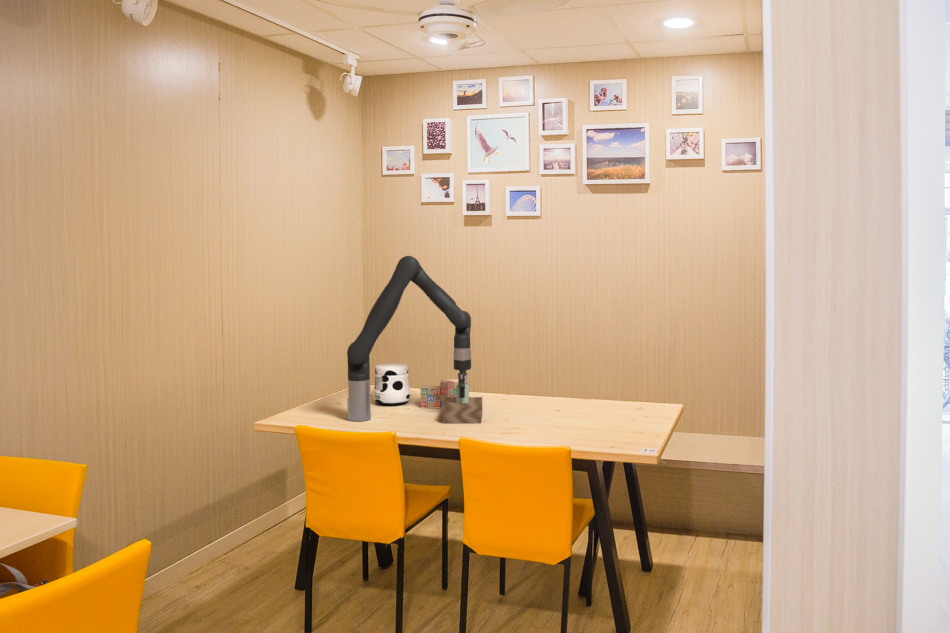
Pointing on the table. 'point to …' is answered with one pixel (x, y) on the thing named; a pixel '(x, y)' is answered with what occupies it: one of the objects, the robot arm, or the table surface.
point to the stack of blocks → (438, 393)
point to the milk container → (391, 384)
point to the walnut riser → (462, 410)
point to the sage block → (466, 399)
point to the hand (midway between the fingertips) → (462, 395)
